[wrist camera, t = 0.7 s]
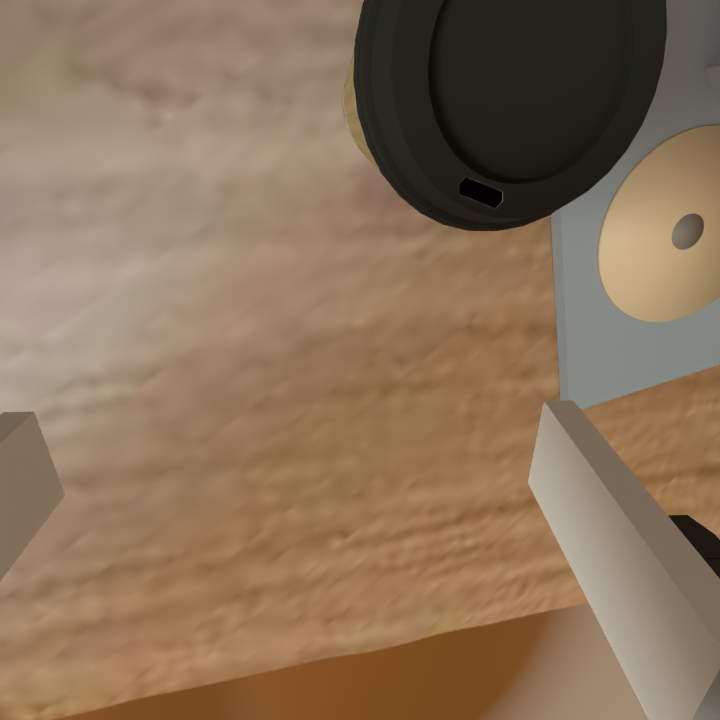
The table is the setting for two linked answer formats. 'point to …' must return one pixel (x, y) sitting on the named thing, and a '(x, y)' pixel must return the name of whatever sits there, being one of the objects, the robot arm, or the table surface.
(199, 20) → the table surface
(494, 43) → the coffee cup
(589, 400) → the gear board
